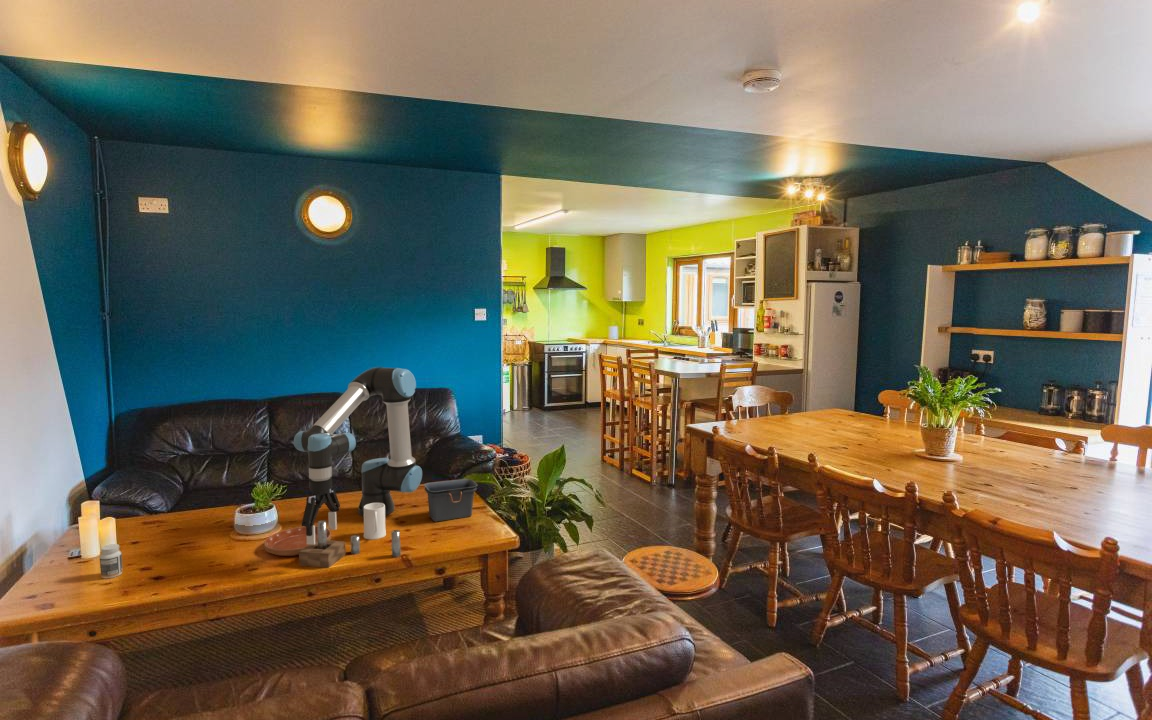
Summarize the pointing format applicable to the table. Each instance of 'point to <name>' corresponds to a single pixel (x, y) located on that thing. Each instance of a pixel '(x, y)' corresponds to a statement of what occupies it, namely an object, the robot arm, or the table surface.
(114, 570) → the pill bottle
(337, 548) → the socket block
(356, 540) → the short pin
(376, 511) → the mug
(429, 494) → the storage bin
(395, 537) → the medium pin
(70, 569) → the table surface
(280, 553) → the saucer
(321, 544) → the long pin
